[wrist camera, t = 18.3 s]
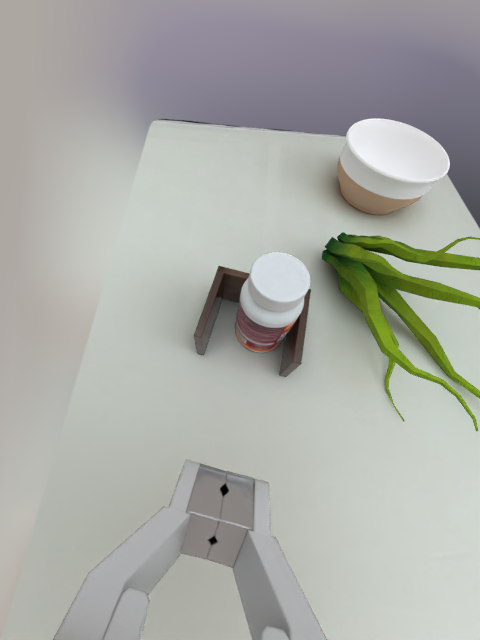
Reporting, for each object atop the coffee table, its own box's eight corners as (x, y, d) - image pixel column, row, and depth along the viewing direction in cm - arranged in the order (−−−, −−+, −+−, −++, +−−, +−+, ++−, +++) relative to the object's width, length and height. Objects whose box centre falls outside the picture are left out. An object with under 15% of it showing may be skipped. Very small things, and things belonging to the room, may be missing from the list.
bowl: (403, 239, 40) (444, 196, 33) (313, 201, 42) (333, 152, 35) (418, 186, 47) (455, 141, 40) (340, 155, 49) (362, 107, 42)
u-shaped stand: (197, 353, 28) (193, 335, 23) (218, 291, 32) (218, 265, 27) (285, 377, 28) (301, 364, 23) (296, 312, 32) (311, 289, 27)
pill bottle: (280, 358, 29) (316, 315, 19) (229, 348, 29) (238, 299, 19) (285, 313, 32) (318, 254, 22) (239, 303, 32) (250, 240, 22)
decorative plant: (383, 491, 24) (586, 556, 11) (312, 254, 37) (367, 151, 23) (534, 466, 27) (853, 495, 13) (419, 251, 39) (525, 156, 26)
